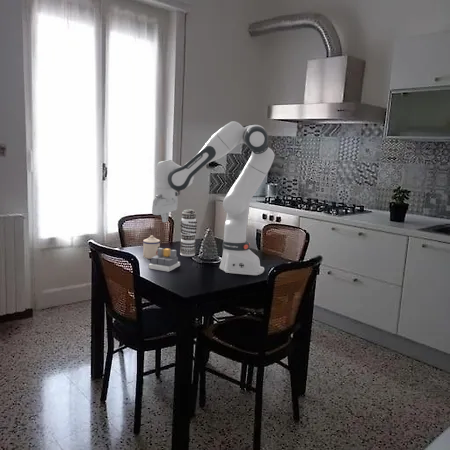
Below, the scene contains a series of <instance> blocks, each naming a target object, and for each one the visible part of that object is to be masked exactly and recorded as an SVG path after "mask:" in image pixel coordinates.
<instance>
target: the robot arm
mask: <svg viewBox="0 0 450 450" xmlns="http://www.w3.org/2000/svg"><path fill="white" fill-rule="evenodd" d="M241 144H244V145H245V146H247V148H248V149H250V151H251V154H250V157H249V158H248V160H247V162H246V164H245V166H244V167H243V168H242V170H241V172H240V174H239V175H238V177H237V179H236V180H235V181H234V183H233V184H232V186H231V187H230V189H229V190H228V192H227V193H226V195H225V197H224V199H223V201H222V209H223V210H224V212H225V213H226V216H225V217H226V218H225V222H224V227H223V228H224V229H223V231H224V233H223V240H222V254H221V255H222V257H221V261H220V264H219V267H218V269H220V270H222V271H223V272H225V274H226V273H227V274H228V273H229V274H236V275H246V276H247V275H248V276H258V275H259V276H260V275H261V274H263V273H264V272H265V267H264V266H261V261H260V258H259V256H258V255H256V254H255V252H253V251H252V250H251V248H250V246H251V243H250V242H248V241H247V230H248V229H247V228H248V221H249V214H250V207H251V206H250V204H251V200H252V198H253V197H254V195H255V194H256V192H257V191H258V190H259V188H260V186H261V185H262V183H263V181H264V179H265V178H266V176H267V175H268V173H269V171H270V169H271V167H272V165H273V162H274V159H275V152H274V151H273V149H272V148H270V147H269V135H268V132H267V130H266V129H265V128H264V127H263V126H262V125H259V124H255V123H252V124H248V125H242V124H241V123H240V122H238V121H234V120H233V121H229V122H228V123H226V124H225V125H224V126H222V127H221V128H219V129H218V130H217V131H216V132H215V133H213V134H212V135H211V137H209V139H208V140H207V141H206V142H205V144H204V145H203V147H202V148H201V149H200V150H199V151H198V153H196V155H194V156H193V157H192V158H191V159H189V160H188V162H186V163H184V165H183V166H181V165H180V164H178V163H176V162H174V161H173V159H172V160H171V159H168V160H167V159H166V160H162V161H159V162H158V163H157V165H156V168H155V169H156V172H155V180H156V186H155V197H154V199H153V200H152V207H151V208H152V209H151V212H152V215H154V216H160V217H161V222H162V223H167V222H169V217H170V213H172V212H175V211H177V210H178V205H179V204H178V202H179V199H178V196H179V192H180V191H183V190H185V189H187V188H189V186H191V185H192V184H193V182H194V180H195V175H196V174H197V173H198V172H199V171H200V170H202V169H203V168H204V167H206V165H208V164H210V163H211V162H215V161H216V160H217V161H218V160H220V159H221V158H224V157H225V156H226V155H228V154H229V153H230V152H231V151H233V150H234V148H236V147H237V146H239V145H241Z"/></svg>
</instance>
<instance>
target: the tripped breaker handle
mask: <svg viewBox="0 0 450 450" xmlns="http://www.w3.org/2000/svg"><path fill="white" fill-rule="evenodd" d="M171 250H172V249H171V248H167V247H166V248H164V253H163V255H164V256H166V257H169V256H170V253H171Z"/></svg>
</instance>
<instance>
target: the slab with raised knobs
mask: <svg viewBox="0 0 450 450" xmlns="http://www.w3.org/2000/svg"><path fill="white" fill-rule="evenodd" d="M164 249H165V248H163V247H160V248H158V255H156V256H154V257H152V258H151V259H150V261H151V263H149V264H148V269H150V270H156V271H162V272H170V271H173V270H175V269H176V268H178V267H180V266H181V261H179V257H178V256H177V250H176V249H171V250H170V256H169V257H166V256H164Z"/></svg>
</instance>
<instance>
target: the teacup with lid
mask: <svg viewBox="0 0 450 450" xmlns="http://www.w3.org/2000/svg"><path fill="white" fill-rule="evenodd" d="M142 243H143V244H142V246H143V247H142V248H143V251H142V257H143V258H144V259H148V260H151V258H152V257H154V256H156V255H158V248H161V247H160V246H161V240H160V239H158V238H156V237H155V236H154V235H149V237H147V238H145V239H143V241H142Z"/></svg>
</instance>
